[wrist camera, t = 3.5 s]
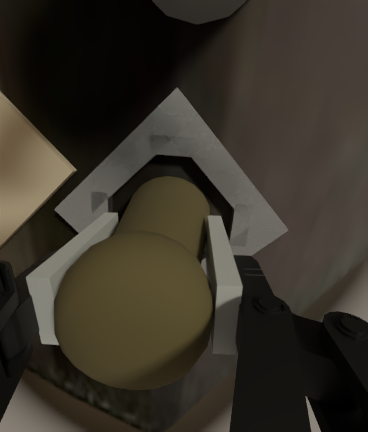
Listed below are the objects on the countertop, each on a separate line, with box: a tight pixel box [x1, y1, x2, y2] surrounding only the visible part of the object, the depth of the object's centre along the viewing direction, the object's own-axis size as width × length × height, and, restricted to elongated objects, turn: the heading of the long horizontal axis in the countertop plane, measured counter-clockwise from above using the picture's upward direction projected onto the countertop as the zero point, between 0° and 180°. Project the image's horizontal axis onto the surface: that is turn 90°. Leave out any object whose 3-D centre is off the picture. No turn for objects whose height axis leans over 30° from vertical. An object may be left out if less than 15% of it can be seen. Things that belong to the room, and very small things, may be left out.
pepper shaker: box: [54, 176, 214, 390], centre depth 11 cm, size 6×6×11 cm
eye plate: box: [54, 88, 288, 275], centre depth 17 cm, size 12×12×1 cm
